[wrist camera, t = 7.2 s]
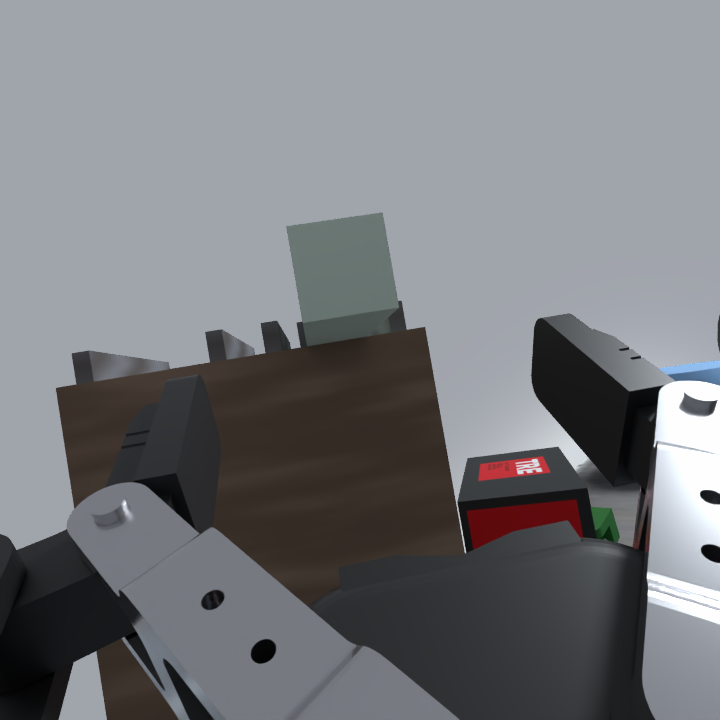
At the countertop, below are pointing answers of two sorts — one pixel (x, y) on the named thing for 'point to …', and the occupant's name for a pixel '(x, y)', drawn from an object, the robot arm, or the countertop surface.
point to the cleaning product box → (521, 495)
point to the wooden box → (285, 460)
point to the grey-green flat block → (342, 278)
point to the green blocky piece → (605, 524)
